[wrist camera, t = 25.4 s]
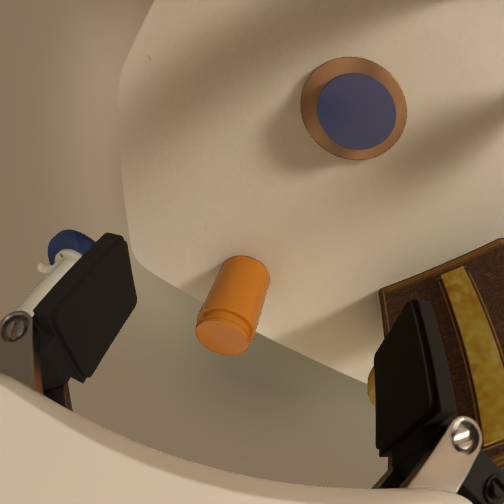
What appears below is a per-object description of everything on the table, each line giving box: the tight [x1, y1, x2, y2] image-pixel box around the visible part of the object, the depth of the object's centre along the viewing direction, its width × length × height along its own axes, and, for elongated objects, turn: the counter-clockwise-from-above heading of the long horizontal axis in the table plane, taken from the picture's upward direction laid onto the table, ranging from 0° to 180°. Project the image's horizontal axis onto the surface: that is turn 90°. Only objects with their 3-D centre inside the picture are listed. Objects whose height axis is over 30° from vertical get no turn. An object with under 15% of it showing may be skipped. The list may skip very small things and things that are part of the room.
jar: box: [196, 256, 270, 356], centre depth 34 cm, size 6×6×10 cm
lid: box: [317, 73, 396, 150], centre depth 23 cm, size 7×7×2 cm
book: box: [368, 238, 504, 472], centre depth 22 cm, size 22×8×25 cm, turn 125°
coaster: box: [301, 57, 407, 160], centre depth 24 cm, size 10×10×1 cm
